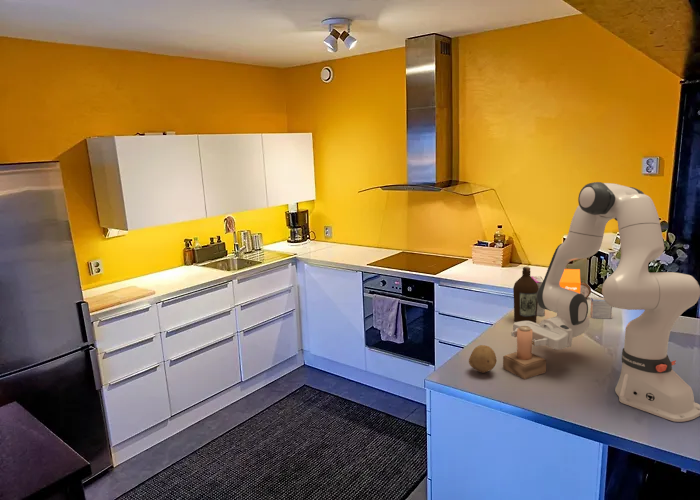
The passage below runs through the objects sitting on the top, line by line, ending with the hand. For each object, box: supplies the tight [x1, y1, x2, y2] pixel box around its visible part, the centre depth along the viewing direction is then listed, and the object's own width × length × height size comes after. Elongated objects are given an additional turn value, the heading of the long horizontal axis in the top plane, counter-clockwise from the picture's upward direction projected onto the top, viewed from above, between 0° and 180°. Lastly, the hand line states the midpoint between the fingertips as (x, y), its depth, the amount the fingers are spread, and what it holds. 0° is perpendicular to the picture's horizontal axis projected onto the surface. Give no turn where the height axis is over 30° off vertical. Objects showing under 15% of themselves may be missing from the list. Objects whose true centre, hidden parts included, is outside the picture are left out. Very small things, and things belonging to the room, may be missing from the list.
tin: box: [580, 281, 592, 299], centre depth 243 cm, size 15×3×8 cm, turn 58°
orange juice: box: [559, 268, 581, 293], centre depth 224 cm, size 8×9×20 cm
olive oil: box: [512, 266, 539, 323], centre depth 210 cm, size 11×11×25 cm
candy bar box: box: [530, 275, 546, 317], centre depth 223 cm, size 11×5×16 cm, turn 168°
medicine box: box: [589, 297, 613, 320], centre depth 213 cm, size 8×4×9 cm, turn 74°
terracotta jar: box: [516, 326, 533, 360], centre depth 164 cm, size 5×5×11 cm
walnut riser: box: [502, 351, 547, 380], centre depth 166 cm, size 10×10×5 cm
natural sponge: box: [468, 344, 497, 374], centre depth 165 cm, size 9×9×10 cm
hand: (523, 338), depth 163 cm, fingers open, 8 cm apart
